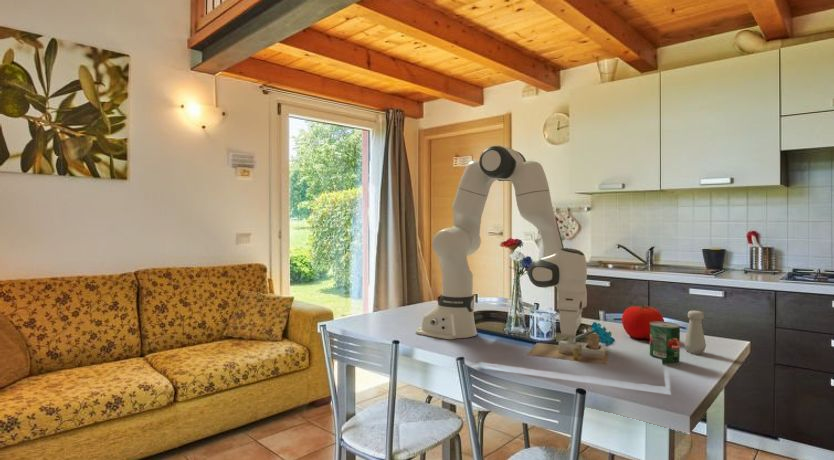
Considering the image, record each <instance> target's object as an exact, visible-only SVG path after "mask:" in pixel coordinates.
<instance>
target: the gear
mask: <svg viewBox="0 0 834 460" xmlns="http://www.w3.org/2000/svg"><path fill="white" fill-rule="evenodd" d="M590 326H591V327H592V328H591V330H592V332H593V333H594V334H597V335H599V342H601V343H602V345H604V344H605V343H606V344H605V345H606V346H611V344H613V343H615V342H616V340H615V338H614V337H612V331H610V330H609V331H607V328H606V327H605V326H603V327H602V324H601V323H599V322H596V321H594V322H592V323H591V324H590Z"/></svg>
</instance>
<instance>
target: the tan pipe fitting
mask: <svg viewBox="0 0 834 460" xmlns="http://www.w3.org/2000/svg"><path fill="white" fill-rule="evenodd" d="M558 345H559V351H558V353H567V354H573V349H579V355H581V357H587V358H596V359H604V358H605V354H606V350H607V345H606V344H605V345H604V344H599V349H592V348H588V342H587V343H585V342H579V341H575V342H571V341H568V340H559V341H558Z"/></svg>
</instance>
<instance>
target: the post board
mask: <svg viewBox="0 0 834 460" xmlns="http://www.w3.org/2000/svg"><path fill="white" fill-rule="evenodd" d="M587 343H588V348H592V349H599V345H600V340H599V335H597V334H596V333H589V334H587ZM558 351H559V344H554V343H553V344H552V343H551V344H550V343H543V342H536V343H535V344H534V346H532V348H531V349H530V350H529V352H527V354H526V356H533V357H539V358H548V359H550V358H551V359H557V360H564V361H565V360H566V361H573V362H582V363H588V364H589V363H590V364H597V365H607V362H608V358H609V353H610V350H607V349H606V354H605V358H604V359H596V358H587V357H581V355H579V349H573V354H567V353H558Z"/></svg>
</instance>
